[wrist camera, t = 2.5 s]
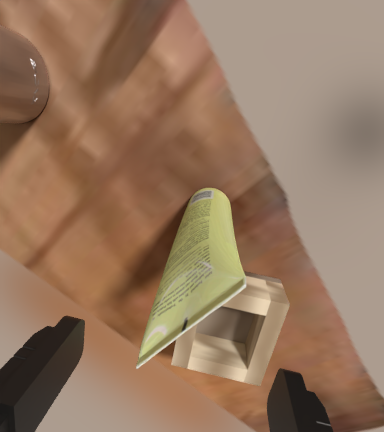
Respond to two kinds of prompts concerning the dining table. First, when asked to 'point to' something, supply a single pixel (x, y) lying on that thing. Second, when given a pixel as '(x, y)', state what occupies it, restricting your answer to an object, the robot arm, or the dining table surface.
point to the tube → (195, 272)
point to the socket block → (237, 333)
